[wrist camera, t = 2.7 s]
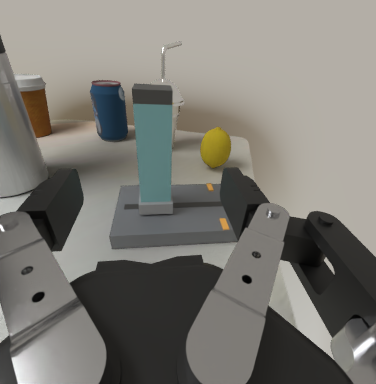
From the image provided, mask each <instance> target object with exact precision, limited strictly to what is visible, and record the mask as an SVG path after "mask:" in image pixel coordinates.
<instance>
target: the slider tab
mask: <svg viewBox="0 0 376 384" xmlns="http://www.w3.org/2000/svg"><path fill="white" fill-rule="evenodd" d="M132 96H133V108H134V121H135V134H136V146H137V159H138V172H139V184H140V195H139V215H150V214H173V199H172V191H171V156H172V103H173V90H172V88H171V85H152V84H134V86H133V88H132Z"/></svg>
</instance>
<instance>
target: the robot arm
mask: <svg viewBox="0 0 376 384" xmlns="http://www.w3.org/2000/svg"><path fill="white" fill-rule="evenodd" d="M48 176H49V174H48V171H47V168H46V164H45V162H44V159H43V156H42V153H41V150H40V147H39V145H38V142H37V139H36V136H35V133H34V130H33V127H32V125H31V122H30V119H29V116H28V113H27V110H26V108H25V105H24V102H23V99H22V96H21V93H20V90H19V88H18V85H17V82H16V80H15V76H14V74H13V71H12V68H11V65H10V62H9V59H8V56H7V54H6V53H5V48H4V45H3V42H2V39H1V36H0V197H7V196H13V195H18V194H21V193H25V192H27V191H30V190H32V189H34V188H35V190H34V191H33V192H32V193H31V194H30V196H29V197H28V198H27V199H26V200H25V201H24V203H23V204H22V205H21V206H20V207H19V208H18V210H17V211H16V212H10V213H6V214H3V215H1V216H0V303H1V307H2V311H3V314H4V318H5V321H6V325H7V329H8V332H9V336H8V337H7V338H5V339H4V340H3V341H2V342H1V343H0V384H376V257H375V256H374V255H373V254H372V253H371V252H370V251H369V250H368V249H367V248H366V247H365V246H364V245H363V244H362V243H361V242H360V241H359V240H358V239H357V238H356V237H355V236H354V235H353V234H352V233H351V232H350V231H349V230H348V229H347V228H346V227H345V226H344V225H343V224H342V223H341V222H340V221H339V220H338V219H337V218H335V217H334V216H332V215H330V214H327V213H324V212H319V211H314V212H311V213H309V215H308V217H307V219H301V218H296V217H290V216H289V213H288V212H287V211H286V210H285V209H284V208H283V207H281V206H279V205H276V204H272V203H270V202H269V201H268V199H267V198H266V197H265V195H264V194H263V193H262V192H261V191H260V189H259V187H257V185H256V183H255V182H254V181H253V180H252V179H251V178H249V177H248V176H243V174H242V173H241V171H240V170H239V168H224V170H223V175H222V181H221V187H220V200H221V203H222V205H223V208H224V210H225V212H226V215H227V217H228V219H229V221H230V224H231V226H232V228H233V231H234V233H235V235H236V238H237V240H238V243H237V245H236V247H235V249H234V250H233V252H232V254H231V256H230V258H229V260H228V262H227V264H226V266H225V268H224V270H223V269H221V268H219V267H217V266H214V265H211V264H208V263H203V259H202V255H193V256H178V257H174V258H170V259H167V260H164V261H160V262H157V263H153V264H148V263H141V262H135V261H128V260H117V261H102V262H98V264H97V267H96V270H95V271H92V272H90V273H87V274H85V275H83V276H81V277H79V278H77V279H75V280H74V281H72V282H71V283H69V282H68V280H67V278H66V277H65V275H64V273H63V271H62V270H61V268H60V266H59V264H58V263H57V261H56V259H55V257H54V256H53V254H52V251H62V249H63V246H64V244H65V242H66V240H67V238H68V236H69V233H70V231H71V229H72V227H73V225H74V223H75V220H76V218H77V216H78V214H79V212H80V210H81V207H82V205H83V200H84V197H83V191H82V188H81V184H80V180H79V176H78V172H77V170H76V169H58V171H57V172H56V173H55V174H54V176H53V177H52V178H48ZM47 178H48V179H47ZM325 257H327V259H328V260H329V261H330V263H331V264H332V266H333V268H334V271H335V275H334V274H333V273H332V271H331V270H330V269H329V267H328V266H327V265H326V263H325V262H324V259H325ZM280 260H284V261H289V262H290V263H291V265H292V267H293V269H294V270H295V272H296V274H297V276H298V277H299V279H300V281H301V283H302V285H303V286H304V288H305V290H306V292H307V294H308V295H309V297H310V299H311V301H312V303H313V304H314V306H315V308H316V310H317V311H318V313H319V315H320V317H321V319H322V320H323V322H324V324H325V326H326V328H327V329H328V331H329V333H330V335H331V336H332V340H331V351H332V354H333V357H334V359H335V360H333V359H332V358H331V357H330V356H329V355H328V354H326V353H325V352H324V351H323V350H322V349H320V348H319V347H318V346H317V345H315V344H314V343H313V342H312V341H311V340H309V339H308V338H307V337H306V336H304V335H303V334H302V333H301V332H300V331H299V330H297V329H296V328H295V327H294V326H292V325H291V324H290V323H289V322H288V321H286V320H285V319H284V318H283V317H282V316H280V315H279V314H278V313H277V312H276V311H274V310H273V309H272V308H271V307H269V306H268V304H269V300H270V296H271V292H272V288H273V284H274V281H275V277H276V273H277V269H278V265H279V261H280Z"/></svg>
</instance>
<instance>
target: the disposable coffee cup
mask: <svg viewBox="0 0 376 384" xmlns="http://www.w3.org/2000/svg"><path fill="white" fill-rule="evenodd" d="M14 76H15V80H16V82H17V85H18V88H19V90H20V93H21V96H22V99H23V102H24V105H25V108H26V110H27V113H28V116H29V119H30V122H31V125H32V127H33V130H34V133H35V136H36V138H37V137H43V136H46V135H49V134H50V133H51V132H52V131H51V125H50V119H49V112H48V106H47V100H46V94H45V85H46V83H45V82H44V81H43V80H42V78H41V76H38V75H31V74H14Z"/></svg>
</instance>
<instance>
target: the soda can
mask: <svg viewBox="0 0 376 384" xmlns="http://www.w3.org/2000/svg"><path fill="white" fill-rule="evenodd" d="M90 93H91V99H92V105H93V110H94V116H95V122H96V127H97V133H98V135H99V136H100V137H101V138H102V139H103V140H105V141H110V142H115V141H121V140H123V139H125V138H126V136H127V133H128V126H127V116H126V106H125V96H124V91H123V89H122V87H121V85H120V82H117V81H108V80H107V81H106V80H101V81H100V80H99V81H93V82H92V87H91V90H90Z"/></svg>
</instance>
